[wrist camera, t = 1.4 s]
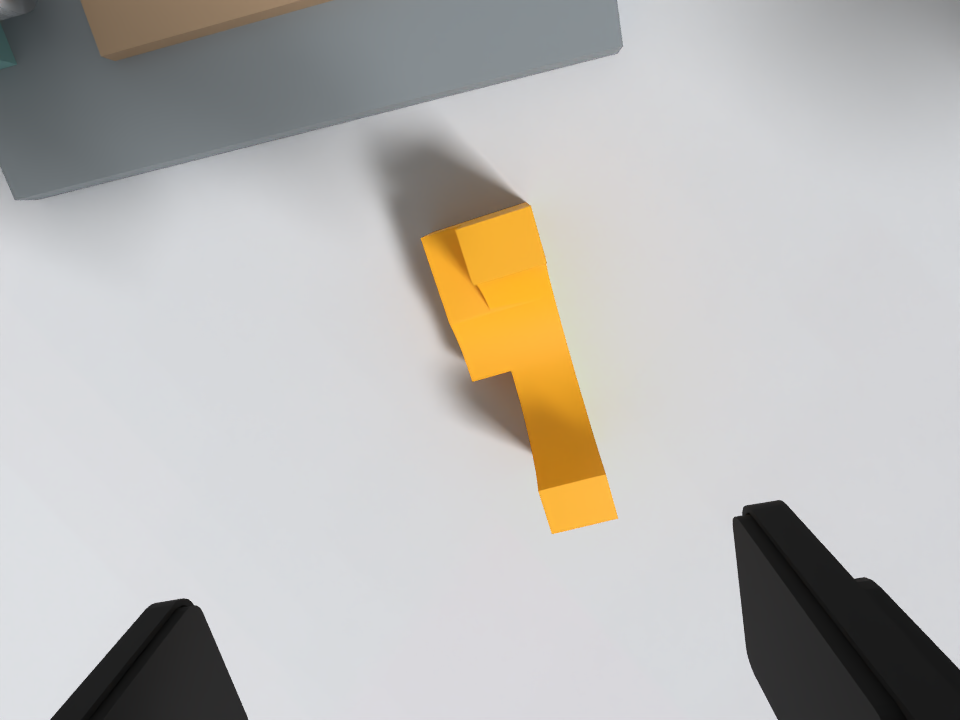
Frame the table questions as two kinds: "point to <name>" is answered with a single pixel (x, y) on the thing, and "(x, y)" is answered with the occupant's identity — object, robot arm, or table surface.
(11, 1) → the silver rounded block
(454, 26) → the stand
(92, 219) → the table surface
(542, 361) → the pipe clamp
